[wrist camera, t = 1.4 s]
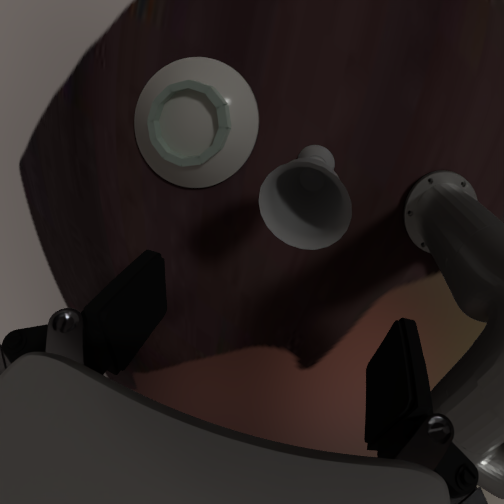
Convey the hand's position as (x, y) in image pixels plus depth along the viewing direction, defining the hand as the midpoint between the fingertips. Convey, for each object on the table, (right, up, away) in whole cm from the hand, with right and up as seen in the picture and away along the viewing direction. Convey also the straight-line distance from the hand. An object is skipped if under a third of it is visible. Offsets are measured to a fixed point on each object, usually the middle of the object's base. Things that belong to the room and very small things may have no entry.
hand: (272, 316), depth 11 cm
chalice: (+8, +14, +26) cm, 30 cm away
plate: (-9, +21, +27) cm, 35 cm away
